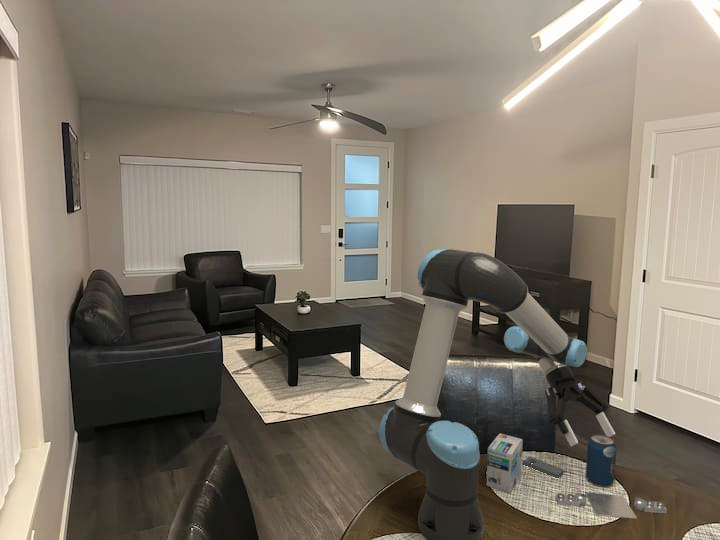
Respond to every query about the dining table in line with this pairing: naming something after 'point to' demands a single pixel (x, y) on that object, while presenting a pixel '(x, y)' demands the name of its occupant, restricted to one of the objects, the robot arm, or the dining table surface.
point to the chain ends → (611, 504)
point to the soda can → (601, 460)
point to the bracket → (543, 467)
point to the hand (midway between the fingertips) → (593, 440)
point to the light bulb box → (504, 462)
